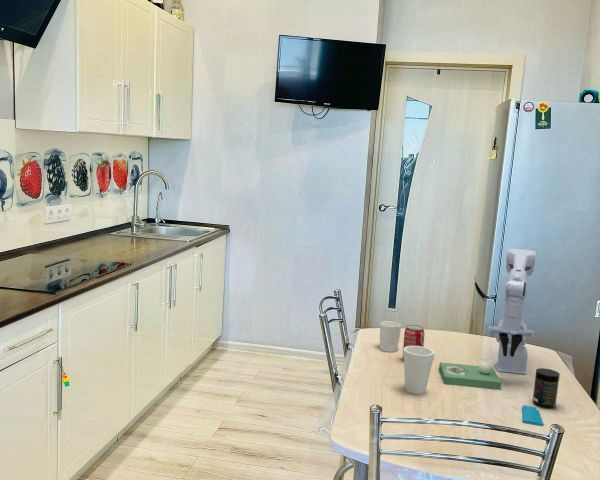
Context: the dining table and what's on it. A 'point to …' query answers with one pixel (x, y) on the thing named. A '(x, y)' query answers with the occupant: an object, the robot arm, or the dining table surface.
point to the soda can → (413, 336)
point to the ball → (485, 367)
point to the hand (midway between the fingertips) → (508, 355)
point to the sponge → (531, 416)
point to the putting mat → (468, 376)
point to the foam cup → (417, 368)
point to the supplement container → (545, 388)
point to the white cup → (389, 336)
